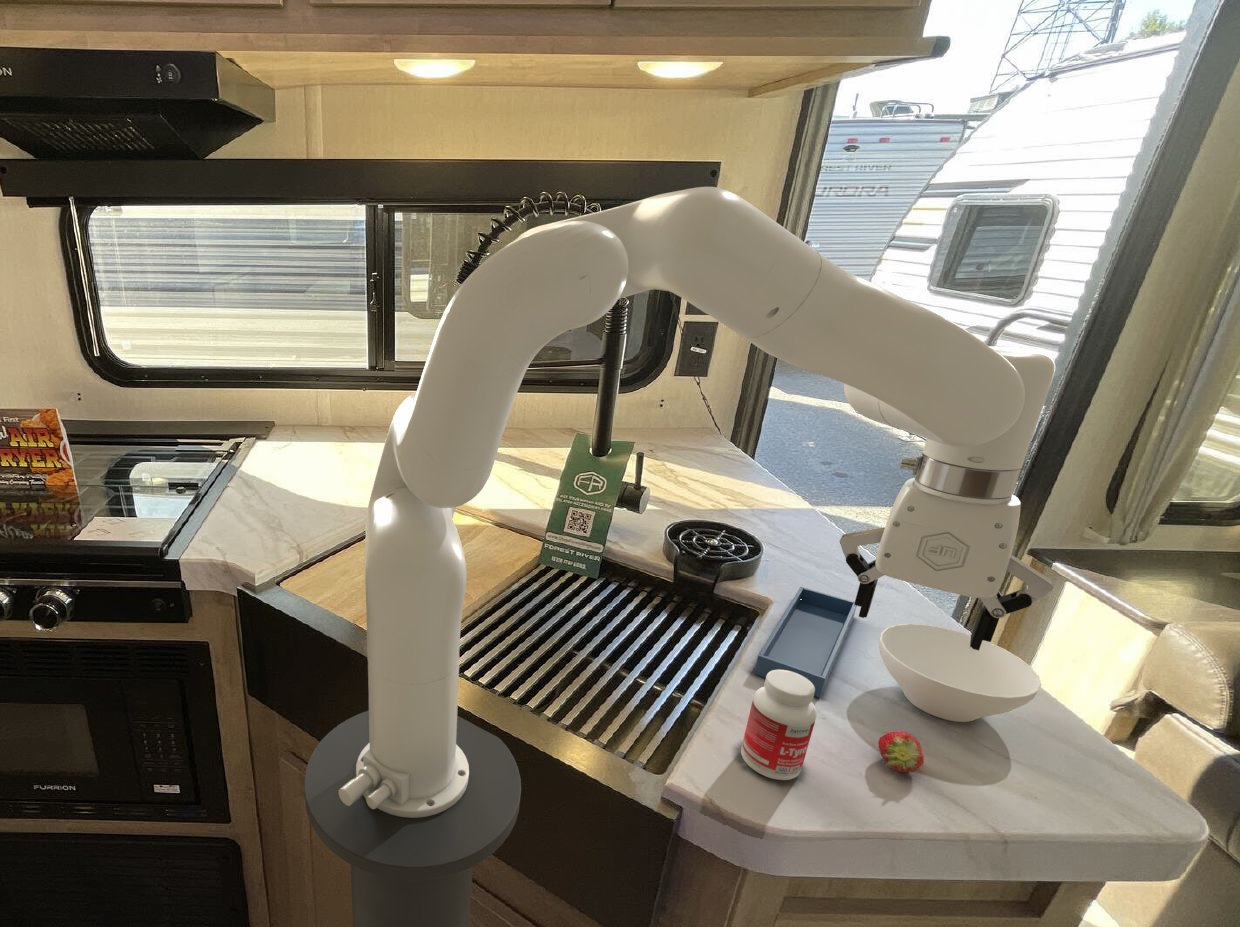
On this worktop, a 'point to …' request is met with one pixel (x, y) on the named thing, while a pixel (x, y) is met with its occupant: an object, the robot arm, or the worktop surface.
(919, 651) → the bowl
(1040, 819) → the worktop surface
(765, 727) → the pill bottle
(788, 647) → the tray
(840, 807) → the worktop surface
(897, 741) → the fruit
